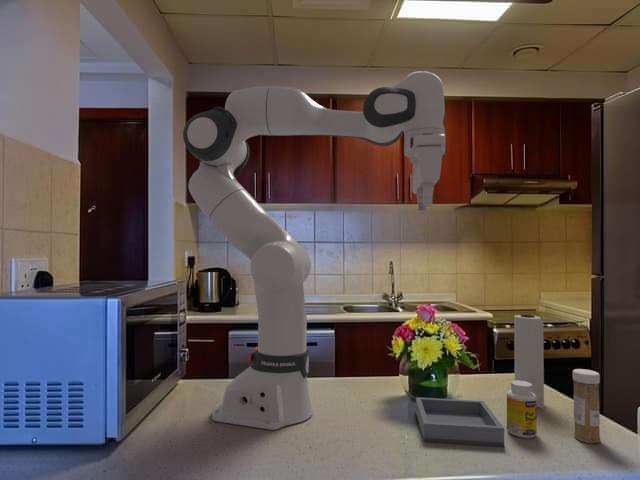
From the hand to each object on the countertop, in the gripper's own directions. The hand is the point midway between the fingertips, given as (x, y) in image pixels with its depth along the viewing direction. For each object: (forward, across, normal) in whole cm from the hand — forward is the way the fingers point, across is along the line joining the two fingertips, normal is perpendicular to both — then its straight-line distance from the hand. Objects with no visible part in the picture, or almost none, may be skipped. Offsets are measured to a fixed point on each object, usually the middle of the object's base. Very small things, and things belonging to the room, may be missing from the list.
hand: (424, 208), depth 92 cm
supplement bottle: (+47, +3, +19) cm, 51 cm away
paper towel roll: (+47, -16, +27) cm, 57 cm away
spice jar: (+47, +4, +31) cm, 56 cm away
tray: (+47, +2, +6) cm, 47 cm away
